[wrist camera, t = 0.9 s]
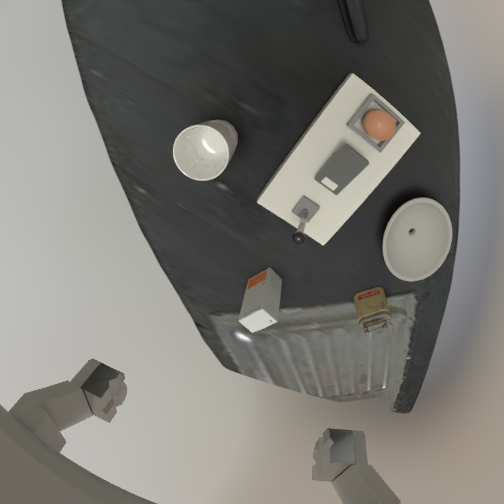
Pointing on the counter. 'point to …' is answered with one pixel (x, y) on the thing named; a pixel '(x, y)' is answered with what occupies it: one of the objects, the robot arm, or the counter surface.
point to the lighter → (372, 309)
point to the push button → (379, 124)
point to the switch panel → (323, 149)
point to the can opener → (354, 19)
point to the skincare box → (261, 301)
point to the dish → (417, 239)
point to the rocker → (341, 169)
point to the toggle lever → (300, 228)
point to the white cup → (205, 149)
